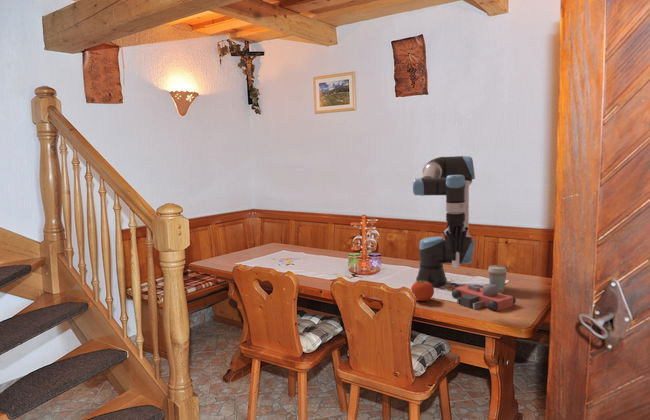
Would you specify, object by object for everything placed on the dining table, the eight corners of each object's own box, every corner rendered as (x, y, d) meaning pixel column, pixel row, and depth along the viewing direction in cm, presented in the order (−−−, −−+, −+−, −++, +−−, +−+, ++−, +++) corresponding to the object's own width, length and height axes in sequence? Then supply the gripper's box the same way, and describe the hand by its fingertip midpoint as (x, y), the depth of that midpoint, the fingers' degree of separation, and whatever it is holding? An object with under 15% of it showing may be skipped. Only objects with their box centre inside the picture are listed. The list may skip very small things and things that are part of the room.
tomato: (414, 296, 222) (414, 275, 221) (436, 298, 217) (436, 277, 216) (408, 302, 213) (407, 281, 212) (430, 305, 208) (430, 283, 207)
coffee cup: (508, 294, 218) (508, 269, 217) (489, 294, 220) (489, 269, 219) (505, 289, 227) (505, 264, 225) (486, 288, 228) (486, 264, 227)
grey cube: (460, 305, 207) (460, 296, 207) (469, 302, 210) (469, 293, 210) (469, 308, 203) (469, 299, 202) (478, 305, 206) (478, 296, 206)
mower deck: (451, 297, 218) (451, 280, 217) (471, 292, 224) (472, 275, 223) (495, 311, 197) (495, 293, 196) (515, 305, 204) (516, 287, 203)
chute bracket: (456, 303, 209) (456, 297, 209) (466, 300, 213) (466, 295, 212) (474, 309, 201) (474, 303, 201) (484, 306, 204) (484, 300, 204)
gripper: (451, 215, 190) (451, 272, 194) (473, 211, 197) (473, 266, 200) (437, 213, 196) (437, 268, 200) (459, 209, 203) (459, 263, 207)
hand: (455, 267), depth 200 cm, fingers closed
